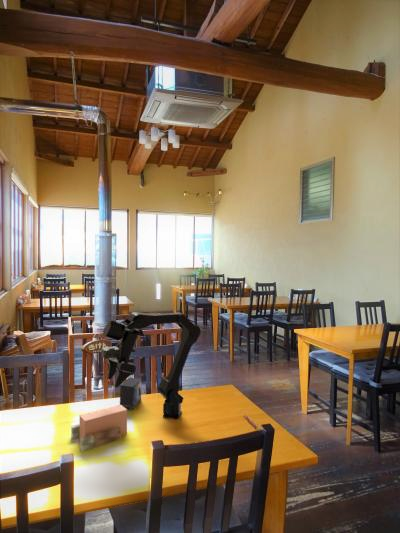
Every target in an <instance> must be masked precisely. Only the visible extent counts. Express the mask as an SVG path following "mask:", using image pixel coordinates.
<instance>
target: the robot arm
mask: <svg viewBox="0 0 400 533" xmlns="http://www.w3.org/2000/svg"><path fill="white" fill-rule="evenodd" d="M165 324H177V325H178V327H179V328H180V329H181V331H180V342H179V343H180V344H179V346H178V349H177V351H176V354H175V356H174V360H173V362H172V364H171V368H170V370H169V373H168V374H167V375H166V377H164V376H163V377H161V380H160V383H159V384H158V388H159V389H158V391H159V394H160V395H161V396H162V397H163V399H165V400H164V403H163V404H162V407H163V408H162V414H163V415H162V418H166V419H167V418H168V419H174V420H175V419H176V420H178V419H179V417H180V416H181V415H182V413H183V412H182V411H181V409H182V408H181V407H182V403H183V401H184V397H183V396H182V395H181V394H179V390H180V377H181V375H182V373H183V370H184V367H185V364H186V362H187V359H188V356H189V355H190V351H191V348H192V346H193V345H194V344H196V343H197V341H198V339H199V338H200V336H201V333H202V330H201V328H200V326H198V325H196V324H194V323H193V322H192V321H191V320H190V319H189V318H187V316H186V315H185V314H184V313H181V312H180V311H179V312H178V311H177V312H167V313H166V312H165V313H151V314H150V313H146V312H145V313H144V312H138V311H134V312H133V311H132V312H130V314H129V315H128V317H127V318H125V319H123V320H122V321H121V322H118V321H115V320H114V319H109V321H108V322H107V323H106V325H105V326H104V328H103V331H102V336H103V337H104V338H108V339H110V340H114V341H116V342H117V341H119V342H118V343H116V346H105V347H102V348H101V357H102V358H103V359H104V360H106V361H107V363H108V373H107V374H108V375H107V380H112V379H113V377H114V376H115V375H116V378H115V381H114V382H115V383H114V388H118V387H120V385H121V384H122V383H123V382H124V381H126V380H127V379H128V378H129V377H131V375H132V376H133V374H135V372H136V370H137V366H136V365H135V364H134V363H133V362H132V359H131V356H132V354H133V353H135V352H136V349H135V347H136V344H137V341H138V338H139V336H141V337H145V333H144V332H143V329H145V328H148V327H150V326H154V325H165ZM116 372H117V374H116Z"/></svg>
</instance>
